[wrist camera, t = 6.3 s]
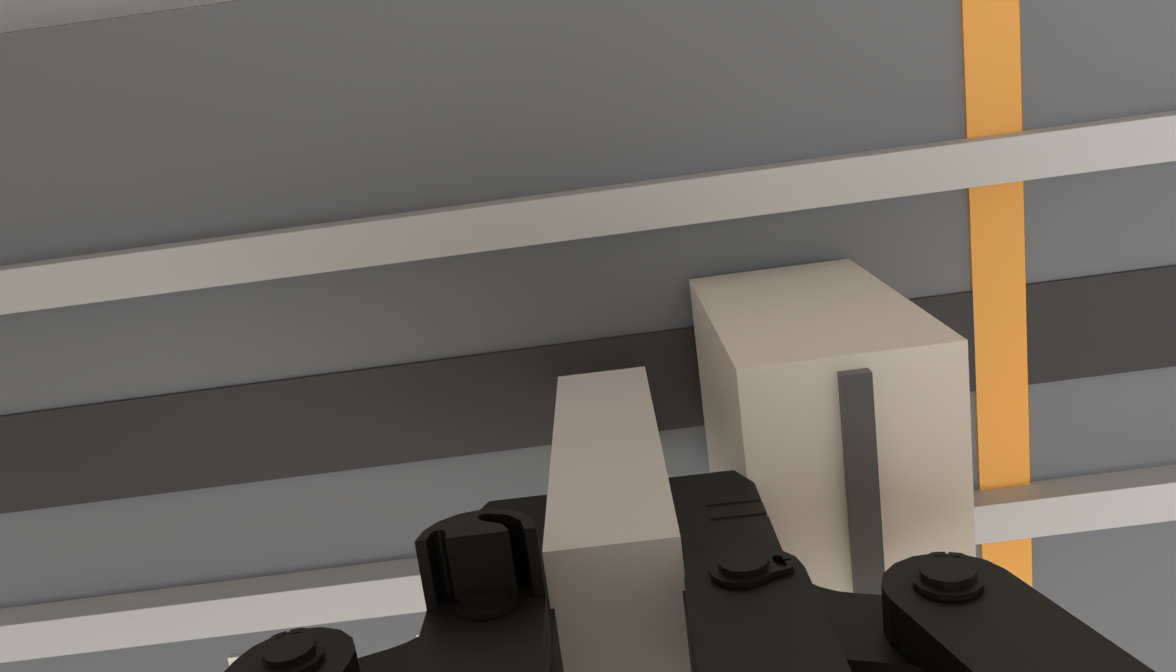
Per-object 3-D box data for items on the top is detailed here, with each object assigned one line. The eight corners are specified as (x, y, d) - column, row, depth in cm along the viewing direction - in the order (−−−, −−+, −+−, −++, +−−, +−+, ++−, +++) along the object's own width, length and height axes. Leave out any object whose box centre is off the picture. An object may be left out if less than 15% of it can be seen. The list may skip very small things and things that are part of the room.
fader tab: (688, 278, 19) (738, 374, 13) (848, 258, 19) (973, 344, 13) (710, 476, 20) (765, 649, 14) (862, 457, 20) (983, 624, 14)
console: (-210, 74, 20) (-354, 74, 17) (1310, -137, 19) (1451, -177, 16) (9, 760, 24) (-75, 861, 21) (1277, 609, 23) (1383, 691, 20)
